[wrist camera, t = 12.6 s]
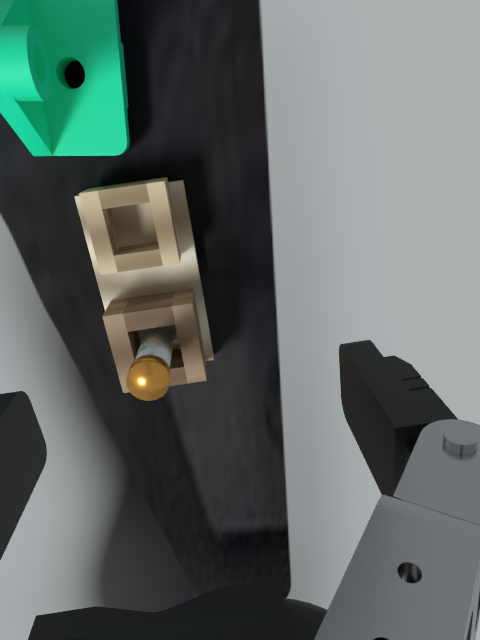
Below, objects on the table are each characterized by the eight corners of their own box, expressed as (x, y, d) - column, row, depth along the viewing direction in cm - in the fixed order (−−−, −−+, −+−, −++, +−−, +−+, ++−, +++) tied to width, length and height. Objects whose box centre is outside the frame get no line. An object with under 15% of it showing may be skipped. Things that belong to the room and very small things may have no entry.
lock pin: (140, 318, 45) (121, 366, 36) (174, 313, 45) (165, 360, 36) (146, 349, 47) (131, 403, 37) (180, 344, 47) (172, 397, 37)
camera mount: (132, 153, 40) (110, 162, 31) (43, 154, 40) (-6, 163, 30) (118, -11, 36) (87, -59, 26) (17, -13, 35) (-52, -63, 26)
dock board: (75, 189, 41) (59, 197, 36) (182, 173, 41) (179, 180, 37) (123, 368, 48) (115, 394, 44) (213, 355, 48) (214, 379, 44)
